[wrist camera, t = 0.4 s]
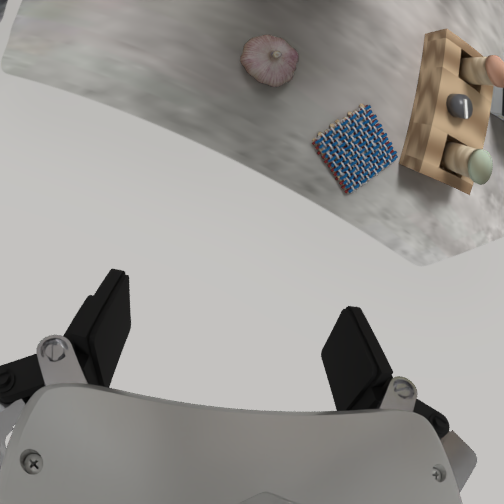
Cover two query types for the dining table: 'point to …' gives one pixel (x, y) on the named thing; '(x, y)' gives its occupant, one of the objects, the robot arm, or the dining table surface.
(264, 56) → the garlic bulb
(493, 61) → the knob terracotta
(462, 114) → the dial
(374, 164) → the woven mat
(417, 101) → the panel
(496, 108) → the tea box
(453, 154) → the knob sage
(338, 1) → the dining table surface
